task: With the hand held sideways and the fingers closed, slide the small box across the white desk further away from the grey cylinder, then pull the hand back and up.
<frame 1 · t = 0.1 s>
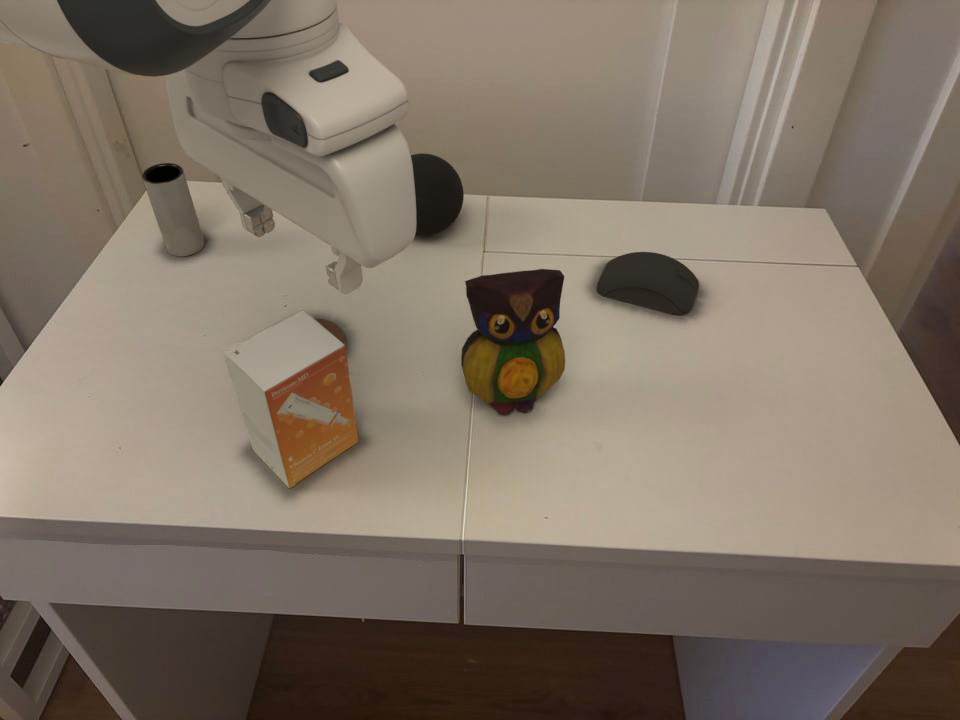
hand: (301, 257, 52), 24 cm above the table, tool pointing down, fingers open, 8 cm apart
speaker: (424, 229, 96), on the table
figurine: (509, 397, 76), on the table
computer mouse: (646, 291, 88), on the table
small box: (307, 448, 71), on the table
coaster: (307, 344, 81), on the table
grey cylinder: (186, 247, 93), on the table
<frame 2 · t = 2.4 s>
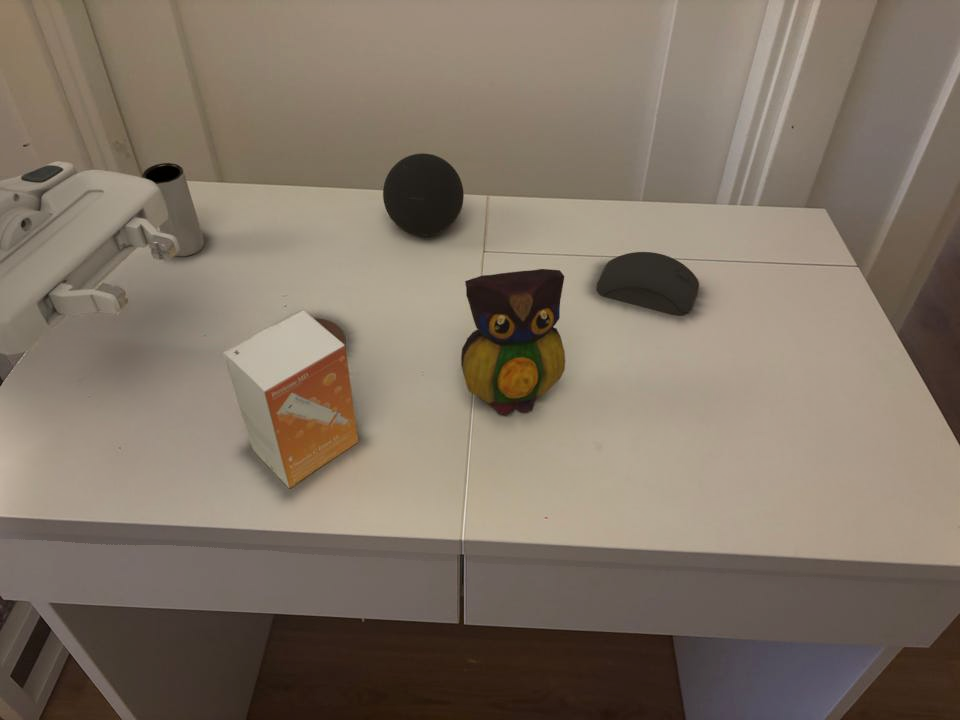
hand: (148, 274, 60), 18 cm above the table, tool horizontal, fingers open, 6 cm apart
nothing on the table moved.
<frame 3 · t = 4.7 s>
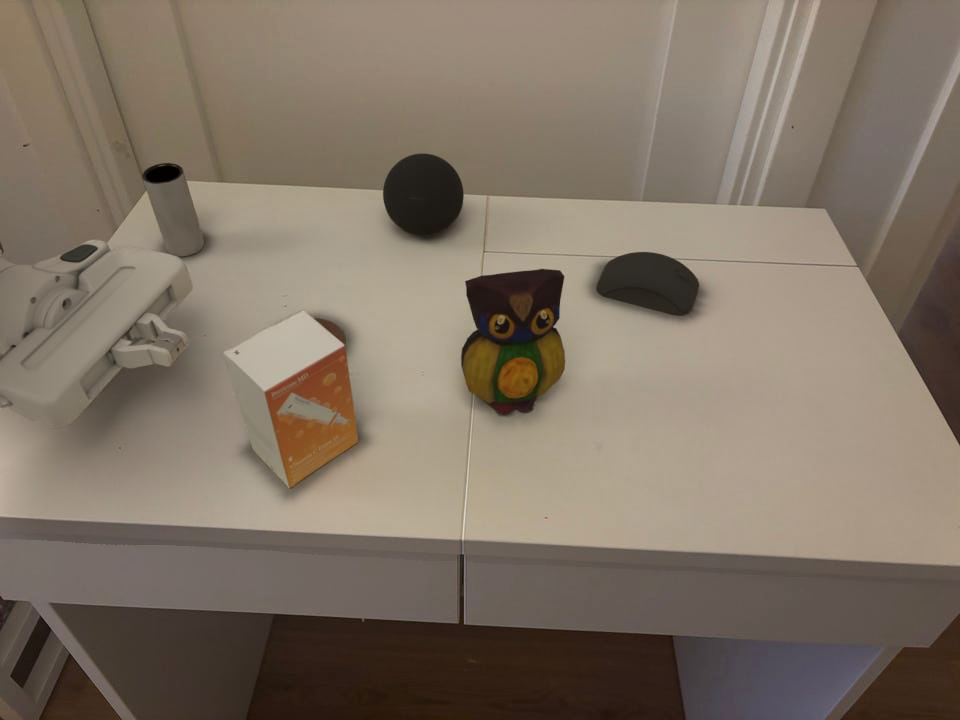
hand: (178, 349, 66), 10 cm above the table, tool horizontal, fingers closed
nothing on the table moved.
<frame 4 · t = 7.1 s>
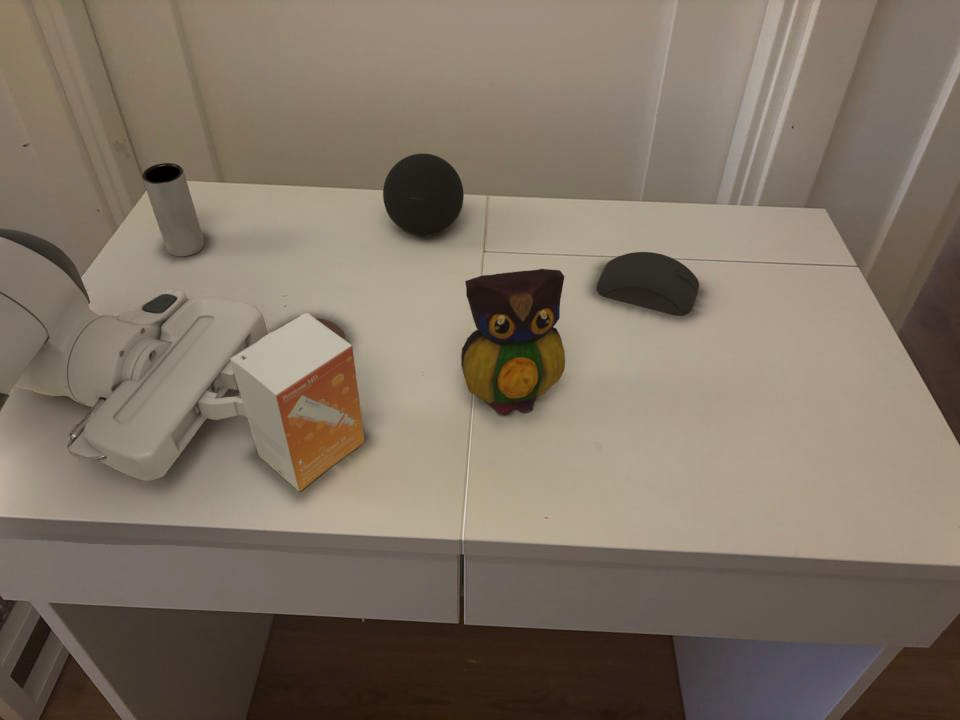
hand: (262, 400, 67), 5 cm above the table, tool horizontal, fingers closed
small box: (313, 450, 71), on the table, touching gripper
everything else where it was.
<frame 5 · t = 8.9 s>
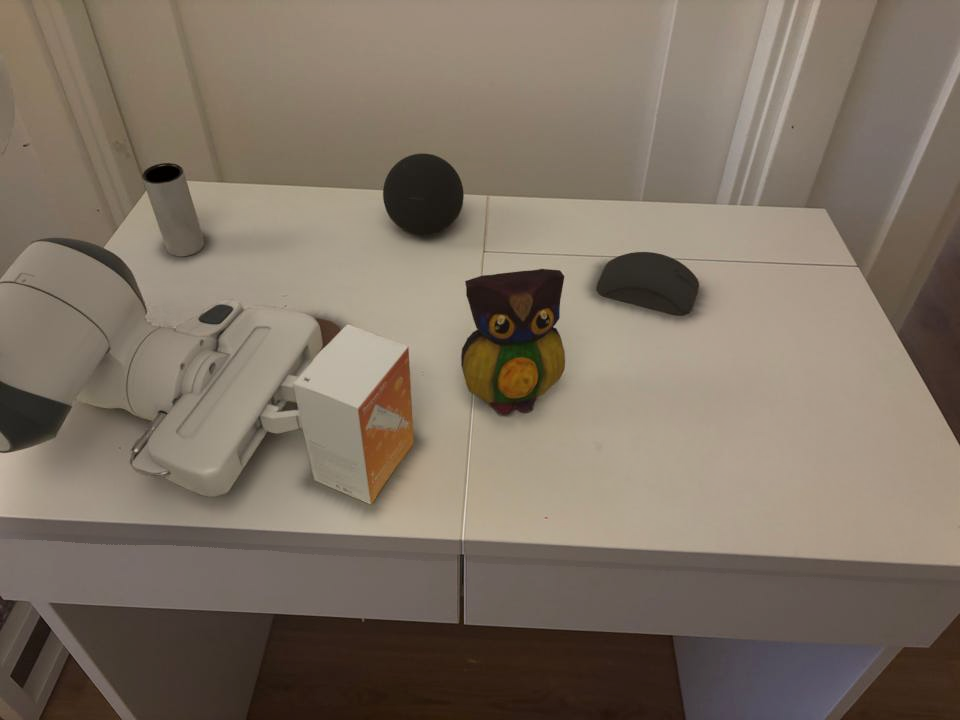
hand: (324, 413, 66), 6 cm above the table, tool horizontal, fingers closed
small box: (365, 463, 70), on the table, touching gripper
everything else where it was.
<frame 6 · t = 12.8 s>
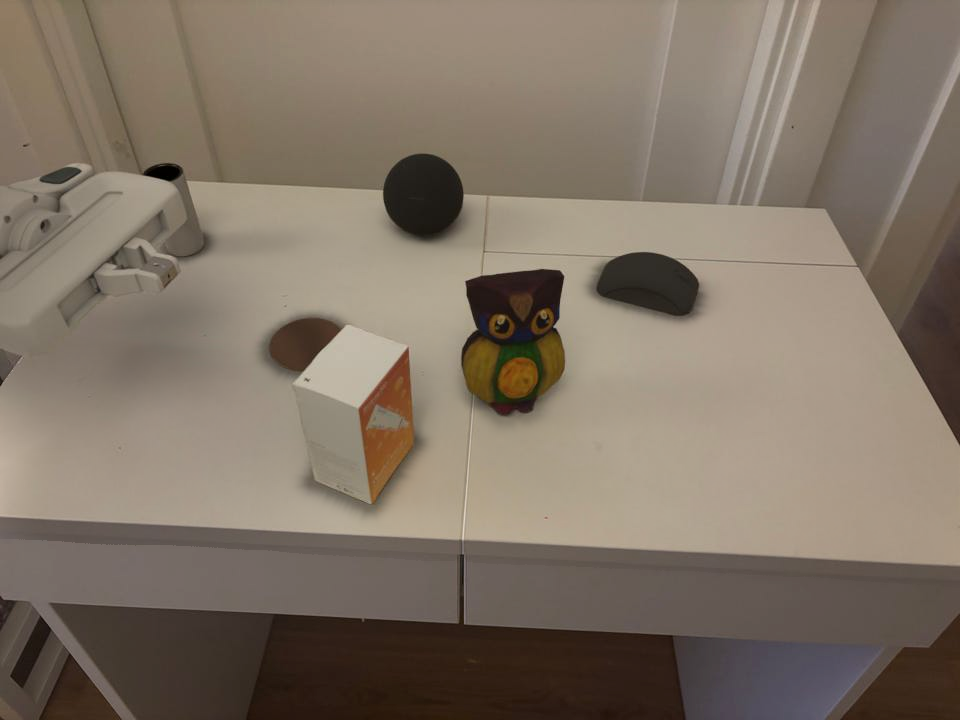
hand: (169, 276, 59), 18 cm above the table, tool horizontal, fingers closed
small box: (366, 463, 70), on the table
everything else where it was.
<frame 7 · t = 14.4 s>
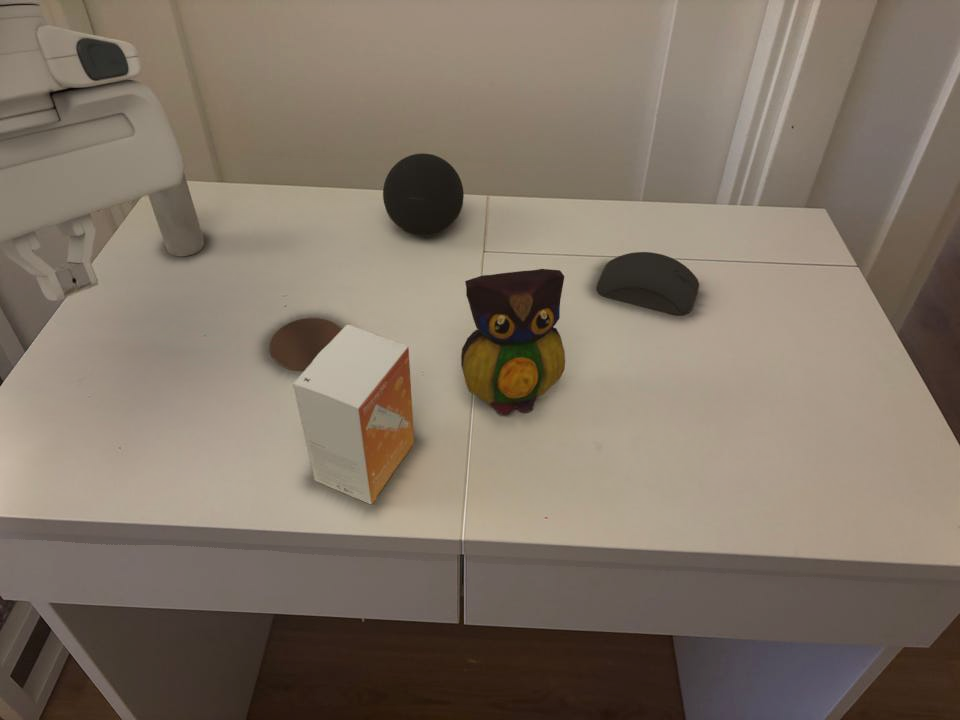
hand: (73, 292, 49), 24 cm above the table, tool tilted 20°, fingers closed
nothing on the table moved.
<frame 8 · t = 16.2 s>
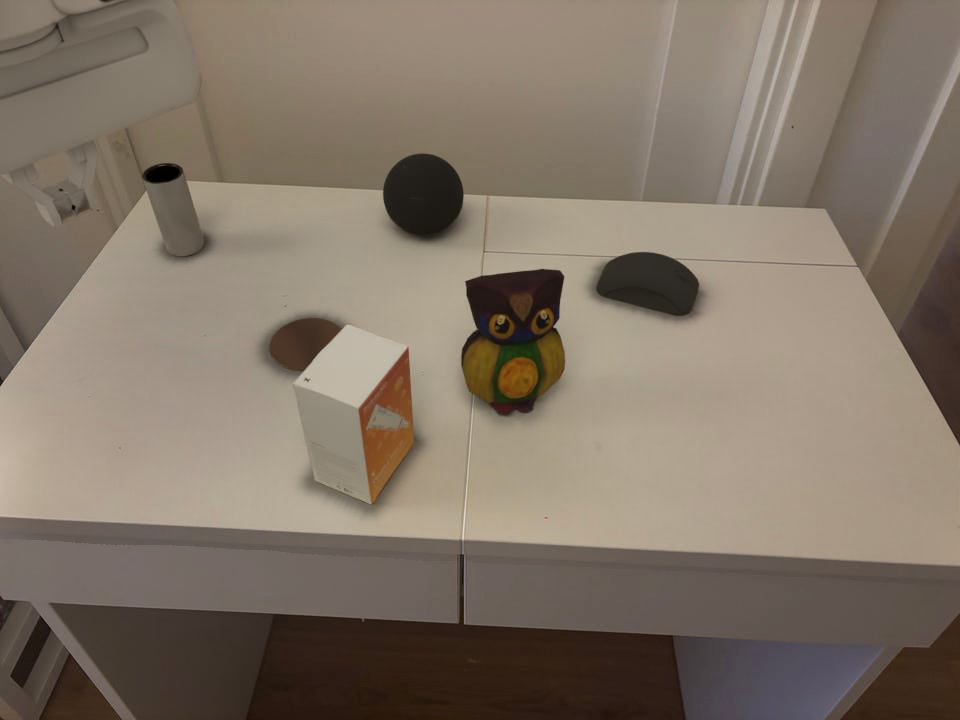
hand: (72, 214, 47), 29 cm above the table, tool pointing down, fingers closed
nothing on the table moved.
at the end: small box inside the target area (3.1 cm from its centre), on the table; small box tilted 0°; grey cylinder moved 0.2 cm from its start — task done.
